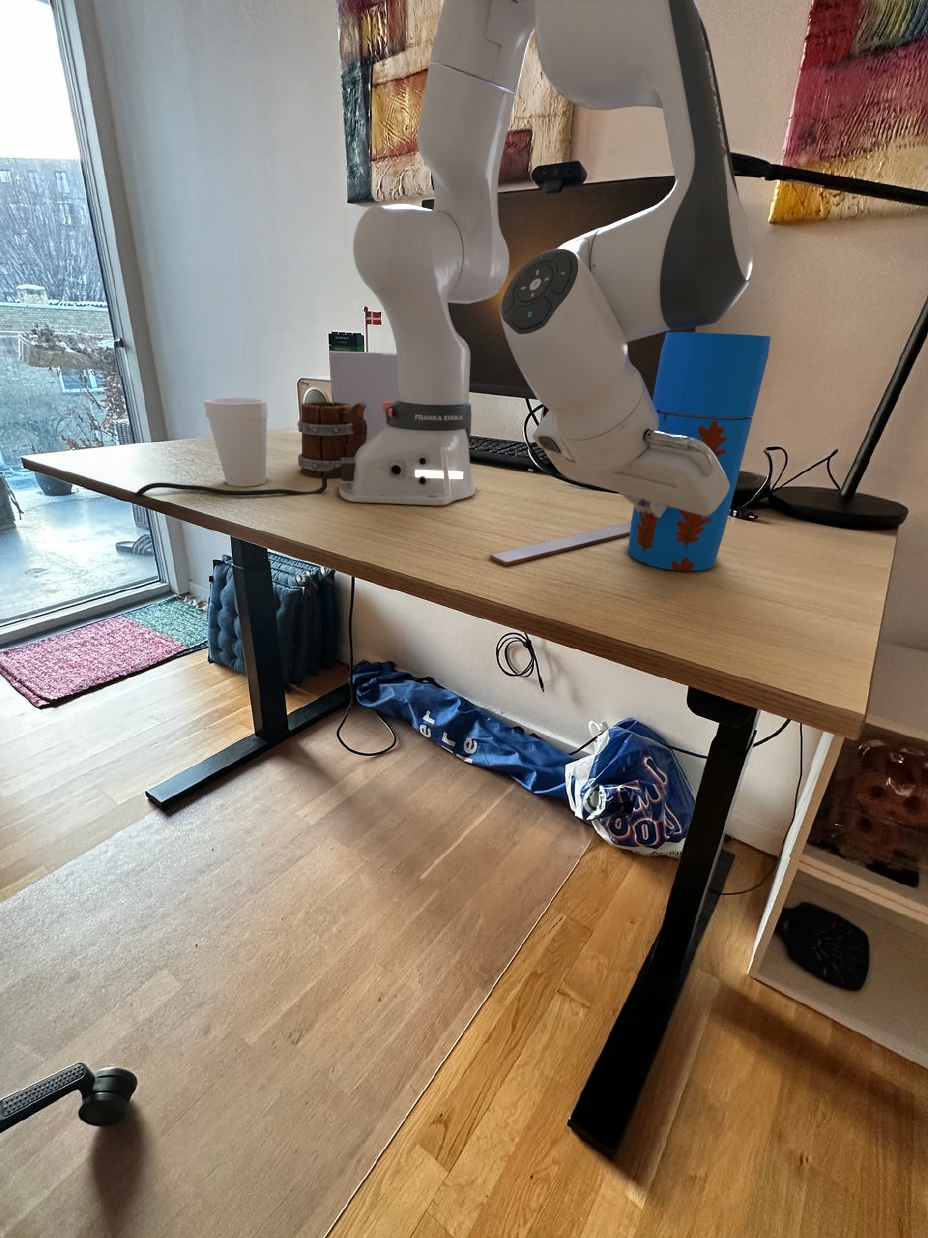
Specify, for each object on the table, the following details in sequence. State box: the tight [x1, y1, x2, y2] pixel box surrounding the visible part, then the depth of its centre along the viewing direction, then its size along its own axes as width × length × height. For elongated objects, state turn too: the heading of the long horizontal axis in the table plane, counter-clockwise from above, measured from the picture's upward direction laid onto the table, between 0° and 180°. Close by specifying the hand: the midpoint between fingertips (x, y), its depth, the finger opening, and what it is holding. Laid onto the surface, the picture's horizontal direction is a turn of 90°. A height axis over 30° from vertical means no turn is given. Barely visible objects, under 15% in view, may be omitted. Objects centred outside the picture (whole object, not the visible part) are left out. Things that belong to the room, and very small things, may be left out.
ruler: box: [489, 521, 631, 567], centre depth 77 cm, size 30×3×1 cm, turn 127°
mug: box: [297, 401, 368, 479], centre depth 104 cm, size 12×14×15 cm
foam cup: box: [203, 397, 269, 487], centre depth 96 cm, size 10×9×13 cm
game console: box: [328, 350, 399, 442], centre depth 118 cm, size 6×27×20 cm, turn 106°
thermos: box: [627, 331, 772, 572], centre depth 67 cm, size 11×11×25 cm
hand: (652, 509), depth 66 cm, fingers closed, pressing on thermos
